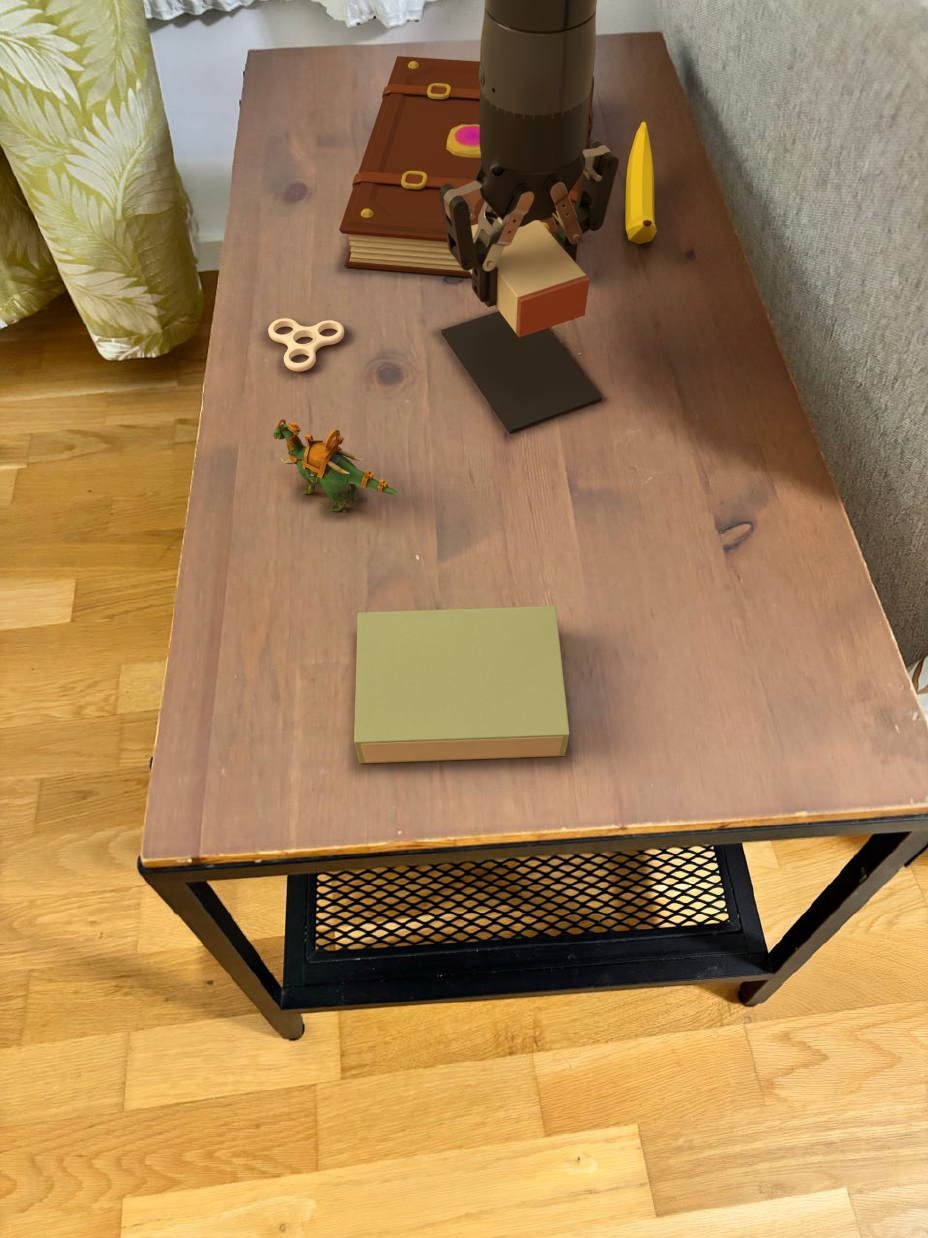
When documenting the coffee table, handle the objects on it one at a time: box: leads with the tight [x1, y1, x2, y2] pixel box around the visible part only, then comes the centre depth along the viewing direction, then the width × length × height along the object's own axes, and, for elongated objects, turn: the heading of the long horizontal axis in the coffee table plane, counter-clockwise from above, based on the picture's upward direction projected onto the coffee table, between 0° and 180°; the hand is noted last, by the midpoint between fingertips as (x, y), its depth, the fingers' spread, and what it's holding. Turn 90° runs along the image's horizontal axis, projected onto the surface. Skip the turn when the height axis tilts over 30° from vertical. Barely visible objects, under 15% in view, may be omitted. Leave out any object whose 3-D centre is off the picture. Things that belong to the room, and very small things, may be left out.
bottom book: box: [353, 605, 570, 764], centre depth 64 cm, size 14×10×4 cm
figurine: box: [272, 418, 399, 513], centre depth 71 cm, size 3×12×8 cm, turn 57°
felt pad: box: [440, 310, 603, 434], centre depth 83 cm, size 14×9×1 cm, turn 26°
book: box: [339, 55, 595, 278], centre depth 96 cm, size 23×32×5 cm
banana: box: [624, 121, 658, 245], centre depth 91 cm, size 3×19×6 cm, turn 175°
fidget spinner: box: [267, 317, 345, 372], centre depth 84 cm, size 7×6×1 cm
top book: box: [469, 217, 591, 338], centre depth 74 cm, size 10×6×4 cm, turn 26°
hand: (523, 288), depth 76 cm, fingers closed on top book, 6 cm apart
